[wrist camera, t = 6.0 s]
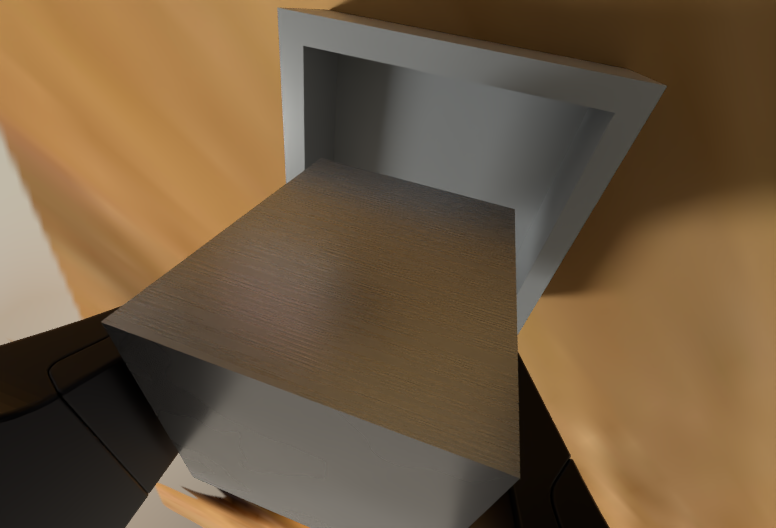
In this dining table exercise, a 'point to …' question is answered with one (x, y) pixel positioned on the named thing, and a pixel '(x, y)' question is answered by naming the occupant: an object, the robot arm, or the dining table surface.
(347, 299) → the metal box
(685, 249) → the dining table surface
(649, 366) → the dining table surface
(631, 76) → the tote
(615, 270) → the dining table surface
